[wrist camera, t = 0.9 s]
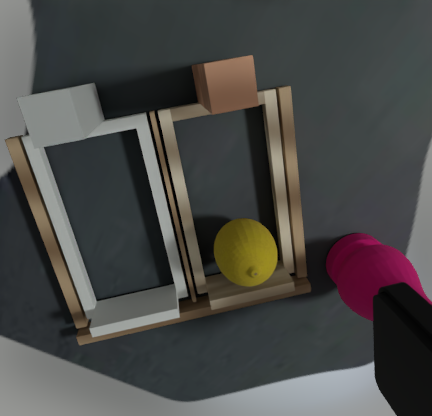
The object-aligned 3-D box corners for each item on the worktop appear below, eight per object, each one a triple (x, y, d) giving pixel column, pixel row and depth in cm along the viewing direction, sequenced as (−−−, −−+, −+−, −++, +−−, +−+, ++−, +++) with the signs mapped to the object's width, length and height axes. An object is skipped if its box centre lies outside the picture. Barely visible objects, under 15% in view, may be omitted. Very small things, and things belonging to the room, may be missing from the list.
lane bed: (10, 137, 31) (0, 141, 29) (286, 85, 33) (293, 86, 31) (83, 332, 38) (79, 345, 36) (304, 281, 40) (311, 291, 38)
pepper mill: (357, 215, 38) (543, 353, 20) (397, 253, 41) (597, 409, 22) (307, 264, 39) (439, 438, 21) (349, 299, 42) (500, 482, 23)
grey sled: (13, 97, 30) (-47, 109, 21) (137, 75, 30) (128, 77, 22) (89, 311, 37) (68, 383, 29) (187, 289, 38) (195, 353, 29)
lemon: (202, 251, 37) (212, 296, 30) (218, 200, 35) (234, 235, 28) (253, 262, 38) (275, 308, 31) (271, 213, 37) (299, 250, 29)
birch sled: (149, 72, 30) (145, 74, 22) (267, 51, 31) (308, 44, 23) (196, 287, 38) (207, 350, 30) (290, 266, 39) (327, 322, 30)
